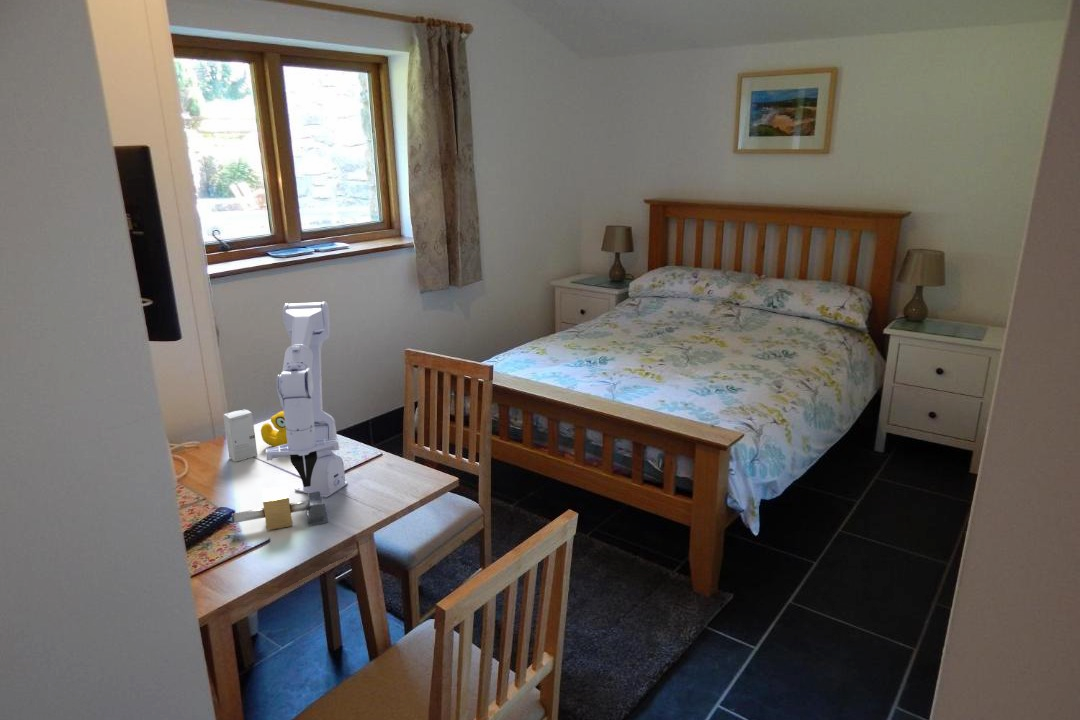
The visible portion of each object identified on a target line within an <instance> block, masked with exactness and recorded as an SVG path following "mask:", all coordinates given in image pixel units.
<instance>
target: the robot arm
mask: <svg viewBox="0 0 1080 720" xmlns="http://www.w3.org/2000/svg"><path fill="white" fill-rule="evenodd" d="M330 319H331V315H330V308H329V304H328V302H326V300H325V301H322V302H321V301H319V302H318V301H317V302H299V303H297V302H296V303H289V302H286V303H284V305H283V307H282V320H283V326H284V328H285V330H286V333H287V336H288V338H289V340H290V341H291V345H290V346H288V347H287V348H286V350H285V351H284V352H285V353H284V358H283V365H282V371H281V374H279V373H278V374H277V377H276V390H277V395H278V398H279V402H280V406H281V408H282V409H283V410H282V411H284V418H285V426H286V435H287V443H288V444H284V445H281V446H277V447H274V446H272V447H270V448H269V447H268V448H265V457H266V462H269V461H273V459H280V458H281V459H282V458H287V457H289V458H290V462H291V465H292V466H293V467H294V469H295V470H296V472H297V473H298V475H299V477H300V479H301V481H302V484H300V485H298V486H296V487H295V488H294V491H296V492H301V493H305V494H308V493H313V492H319V491H320V496H321V498H328V497H329V496H331V495H333V494H334V493H337V491H339V490H341V489H342V488H343V487H345V486H346V485H348V483H349V482H348V481H346V475H345V473H346V472H345V465H344V461H343V458H342V457H341V456H339V455H338V454H336V453H334V451H339V449H340V447H339V441H338V440H339V439H338V437H337V428H336V420H335V418H334V416H333V415H331V414H329V413H327V412H326V411H325V410H323V385H322V384H323V380H322V348H323V343H324V342H325V341H326V340H329V338H330V334H331V320H330Z"/></svg>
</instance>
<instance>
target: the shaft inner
mask: <svg viewBox="0 0 1080 720" xmlns="http://www.w3.org/2000/svg"><path fill="white" fill-rule="evenodd" d="M321 501H322V502H323V499H322V498H321ZM322 507H323V506H322ZM307 510H310V501H309V499H307V500H303V501H297V502H290V512H291V514H293V513H298V512H304V511H307Z"/></svg>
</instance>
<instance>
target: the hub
mask: <svg viewBox="0 0 1080 720" xmlns="http://www.w3.org/2000/svg"><path fill="white" fill-rule="evenodd" d="M262 503H263V508H264V512H265V525H266V531H271V530H276V529H281V528H287V527H292V526H293V521H292V513H291V512H290V503H291V502H290V496H289V488H288V485H282V486H277V487H270V488H263V489H262Z"/></svg>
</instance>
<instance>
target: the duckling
mask: <svg viewBox="0 0 1080 720" xmlns="http://www.w3.org/2000/svg"><path fill="white" fill-rule="evenodd" d="M270 422H271V423H272V425H273V426H272V425H271V424H270V423H268V422H266V423H264V424H263V425H262V426H261V427H260V433H261V434H260V435H261V437H262V440H263V442H264V443H265V444H266V445H269V446H270V447H277V446H281V445H284V444H288V443H287V435H286V426H285V418H284V410H281V411H279V412H277V413H276V414H274V415H272V416H271V417H270ZM273 427H274V428H275V429H276V430H275V429H274V428H273Z"/></svg>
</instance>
